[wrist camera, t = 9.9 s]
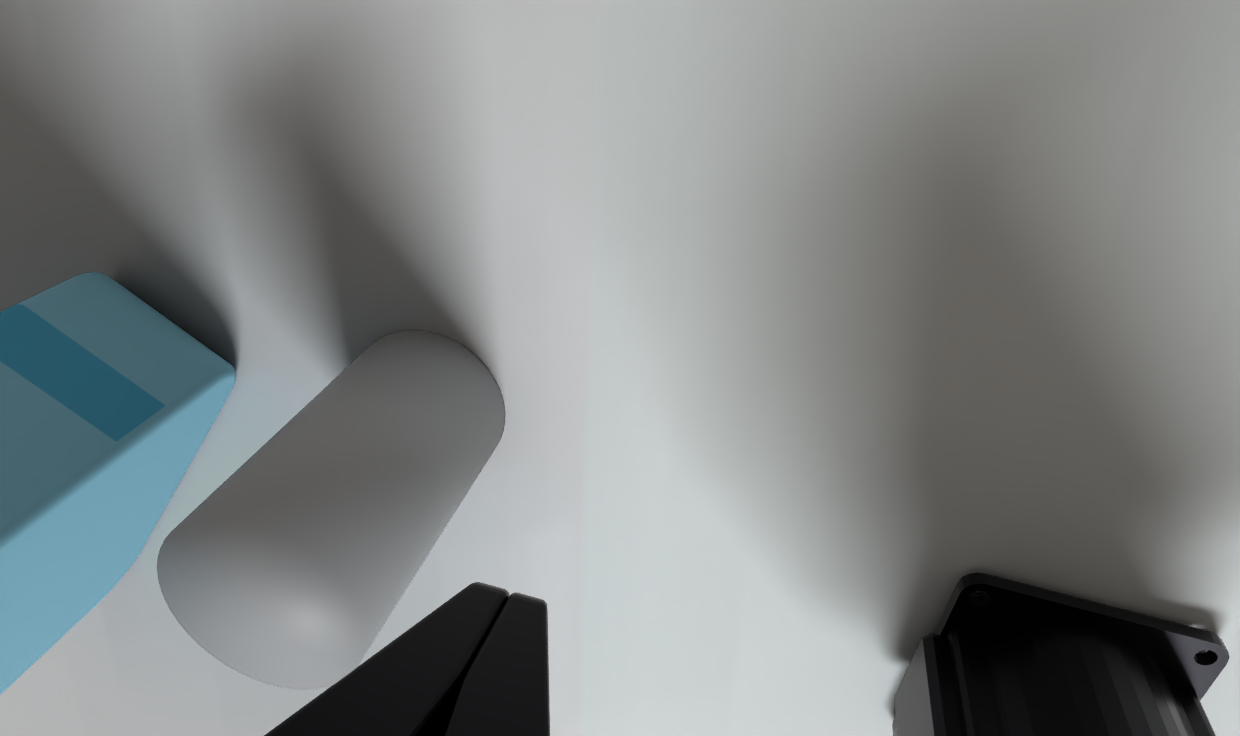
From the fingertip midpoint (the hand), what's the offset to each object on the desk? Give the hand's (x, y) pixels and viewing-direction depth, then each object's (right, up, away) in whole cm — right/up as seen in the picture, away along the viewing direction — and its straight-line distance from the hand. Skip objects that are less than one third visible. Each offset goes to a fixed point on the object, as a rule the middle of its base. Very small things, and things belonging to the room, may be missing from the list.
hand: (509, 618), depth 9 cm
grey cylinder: (-4, +2, +14) cm, 15 cm away
